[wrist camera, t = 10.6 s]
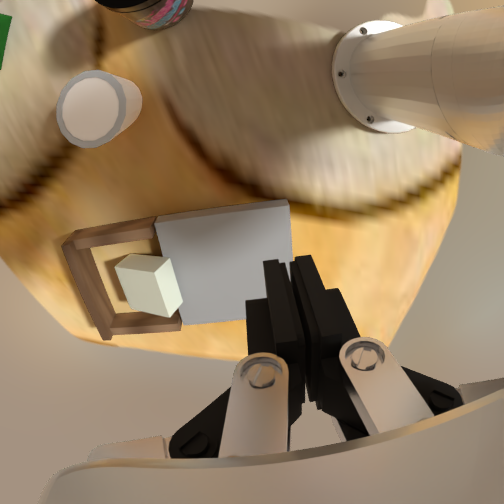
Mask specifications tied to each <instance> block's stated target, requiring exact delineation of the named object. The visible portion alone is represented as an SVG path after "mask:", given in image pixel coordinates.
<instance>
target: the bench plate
mask: <svg viewBox="0 0 504 504" xmlns="http://www.w3.org/2000/svg"><path fill="white" fill-rule="evenodd" d="M154 224H155V228H156V232H157V235H158V239H159V243H160V247H161V251H162V254H163V257H169V258H170V260H171V263H172V267H173V270H174V273H175V277H176V280H177V284H178V287H179V290H180V293H181V297H182V300H183V302H182V304H181V305H180V306H179V307H178V309H179V312H180V315H181V318H182V322H183V325H194V324H205V323H215V322H225V321H234V320H243V319H246V307H245V300H252V299H261V298H267V296H266V286H265V277H264V268H263V261H265V260H273V259H278V260H279V263H283V262H285V264H286V268H287V271H288V275H289V279H290V266H289V262H291V261H293V254H292V238H291V222H290V208H289V204H288V201H287V199H282V200H273V201H264V202H256V203H248V204H240V205H232V206H225V207H217V208H210V209H203V210H196V211H189V212H182V213H175V214H169V215H162V216H158V218H157V220H156V221H155V223H154Z"/></svg>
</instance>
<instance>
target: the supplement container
mask: <svg viewBox="0 0 504 504" xmlns="http://www.w3.org/2000/svg"><path fill="white" fill-rule="evenodd" d="M95 1H96V2H98V3H99V4H101V5H103V6H104V7H106V8H107V9H109V10H111V11H114V12H116V13H118V14H120V15H121V16H123V17H125V18H126V19H128V20H130V21H132V22H133V23H135V24H137V25H138V26H140V27H142V28H145V29H150V30H159V29H164V28H168V27H170V26H172V25H174V24H176V23H178V22H179V21H181V20H182V19H183V18H184V17H185V16H186V15H187V14H188V12H189V11H190V9H191V7H192V4H193V0H95Z"/></svg>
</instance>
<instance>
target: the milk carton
mask: <svg viewBox="0 0 504 504" xmlns="http://www.w3.org/2000/svg"><path fill="white" fill-rule="evenodd" d="M11 19H12V16H8V15H4V14H0V70H1V67H2V61H3V56H4V50H5V45H6V41H7V36H8V32H9V27H10V23H11Z"/></svg>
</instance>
